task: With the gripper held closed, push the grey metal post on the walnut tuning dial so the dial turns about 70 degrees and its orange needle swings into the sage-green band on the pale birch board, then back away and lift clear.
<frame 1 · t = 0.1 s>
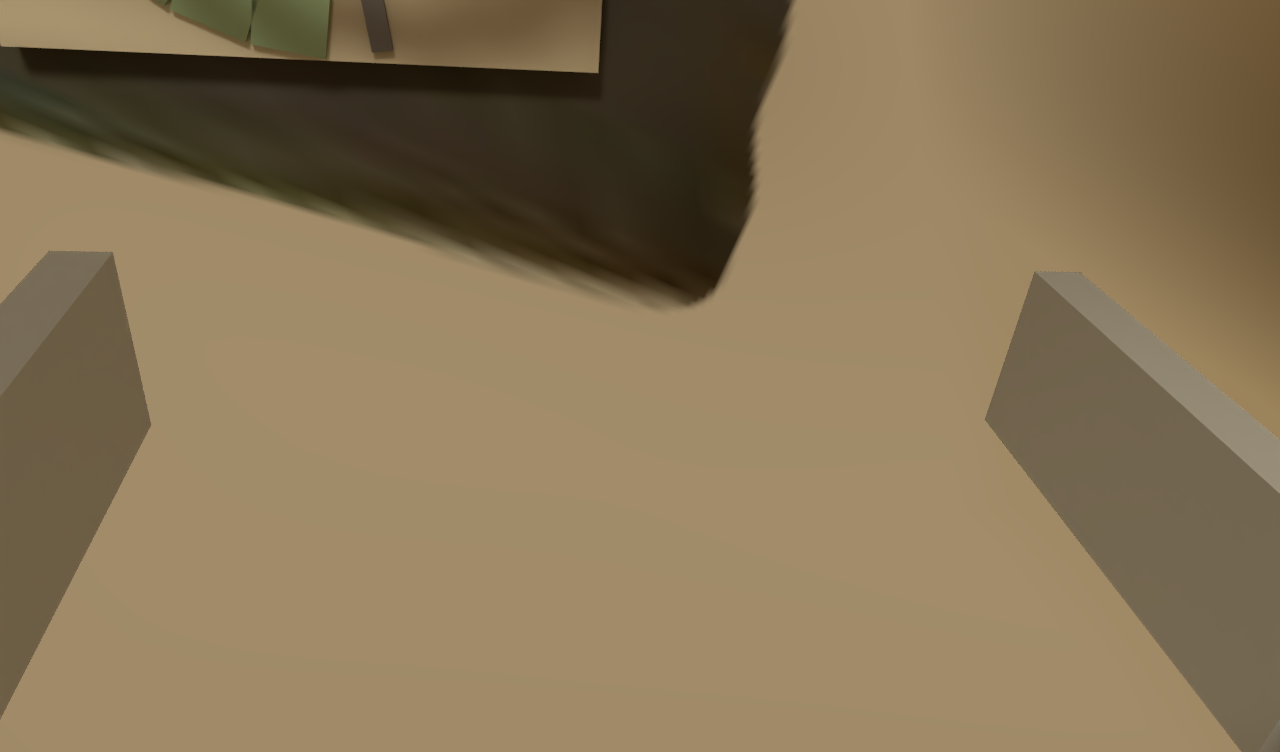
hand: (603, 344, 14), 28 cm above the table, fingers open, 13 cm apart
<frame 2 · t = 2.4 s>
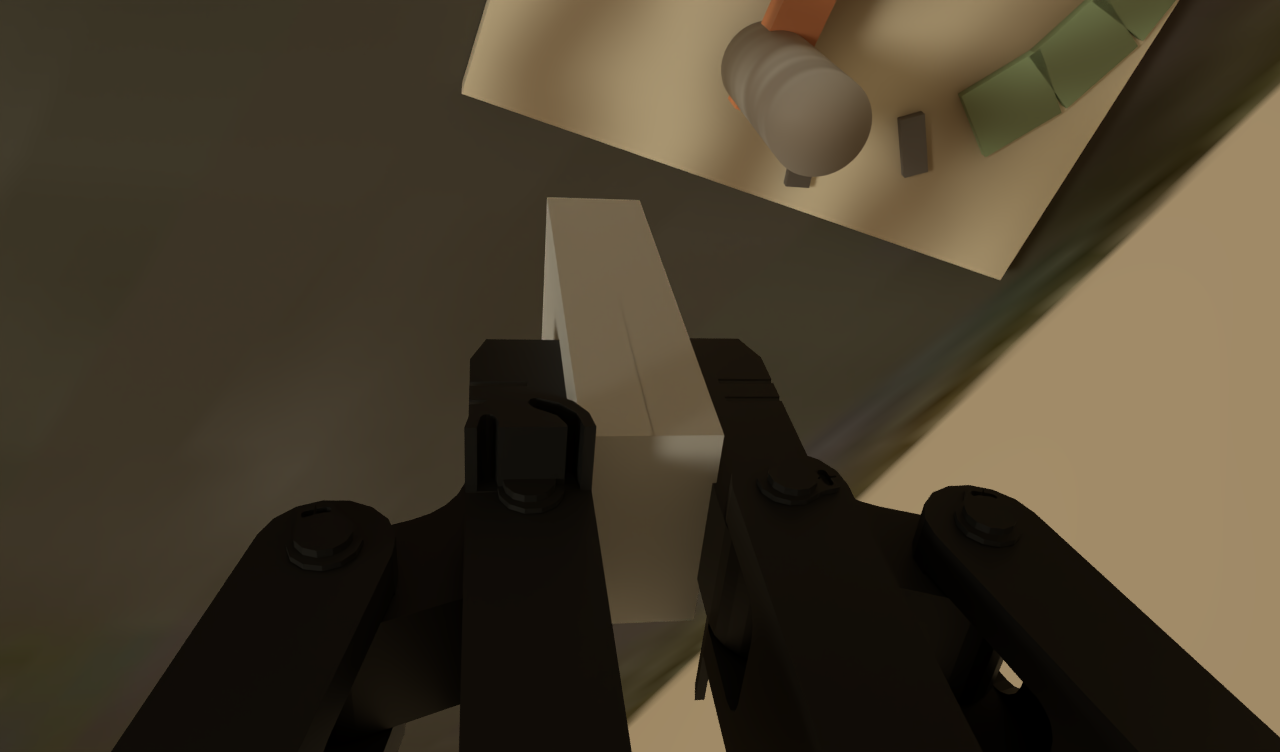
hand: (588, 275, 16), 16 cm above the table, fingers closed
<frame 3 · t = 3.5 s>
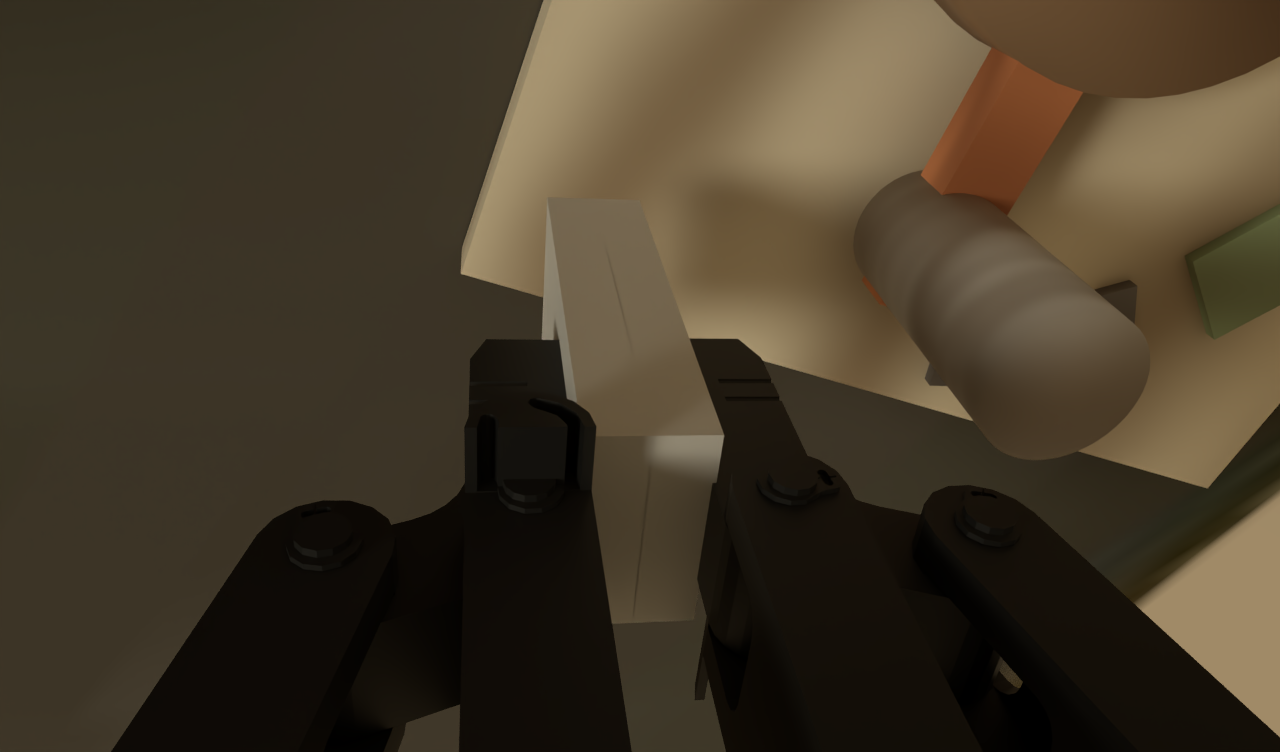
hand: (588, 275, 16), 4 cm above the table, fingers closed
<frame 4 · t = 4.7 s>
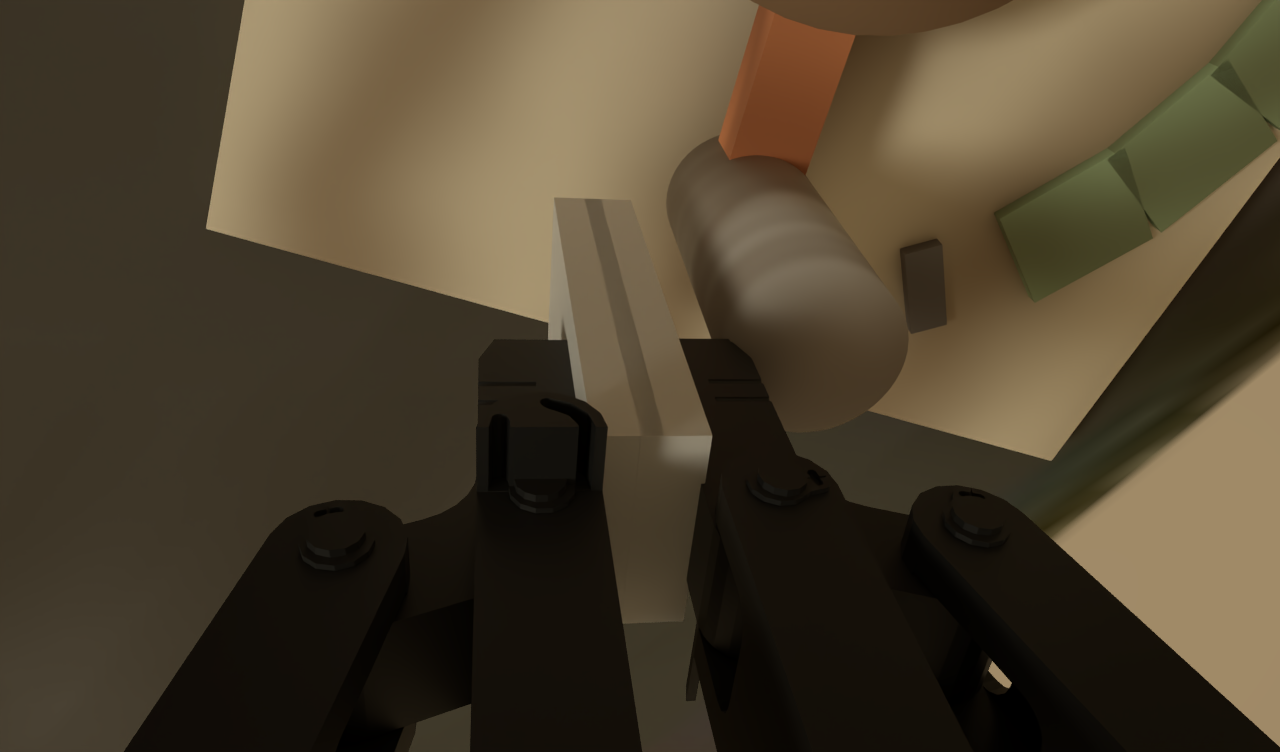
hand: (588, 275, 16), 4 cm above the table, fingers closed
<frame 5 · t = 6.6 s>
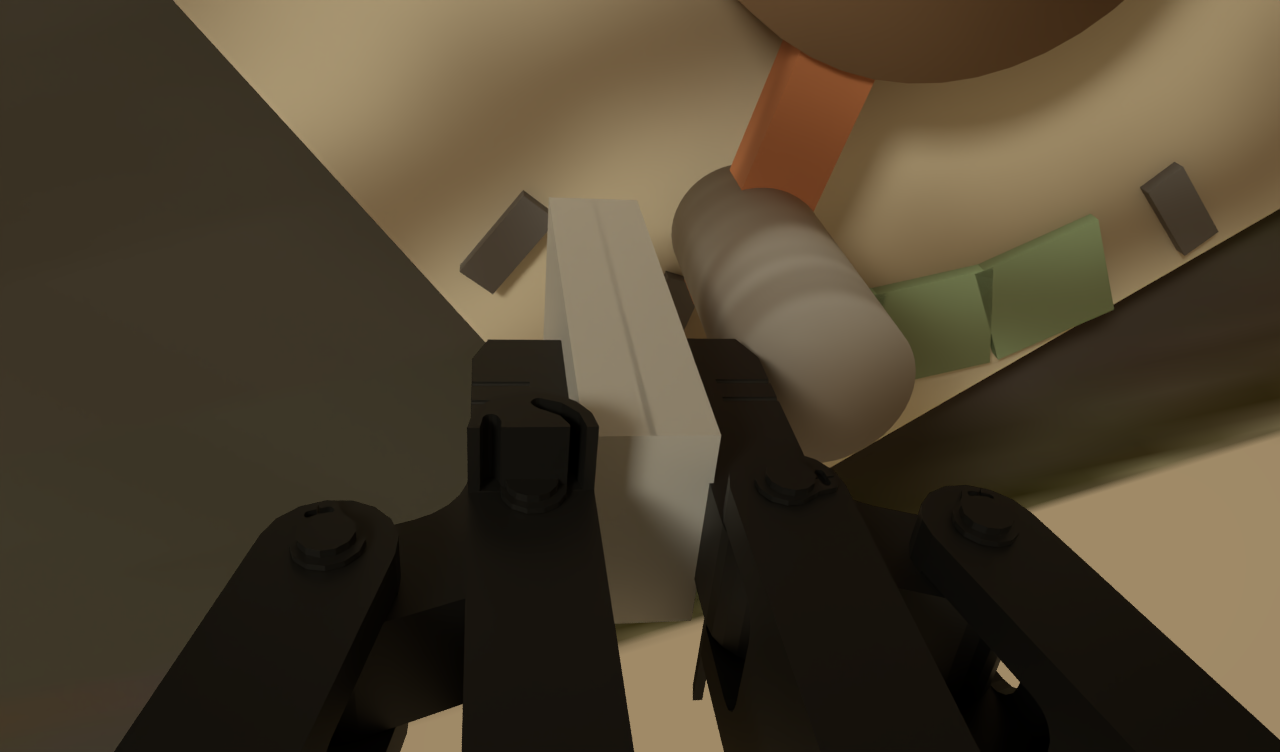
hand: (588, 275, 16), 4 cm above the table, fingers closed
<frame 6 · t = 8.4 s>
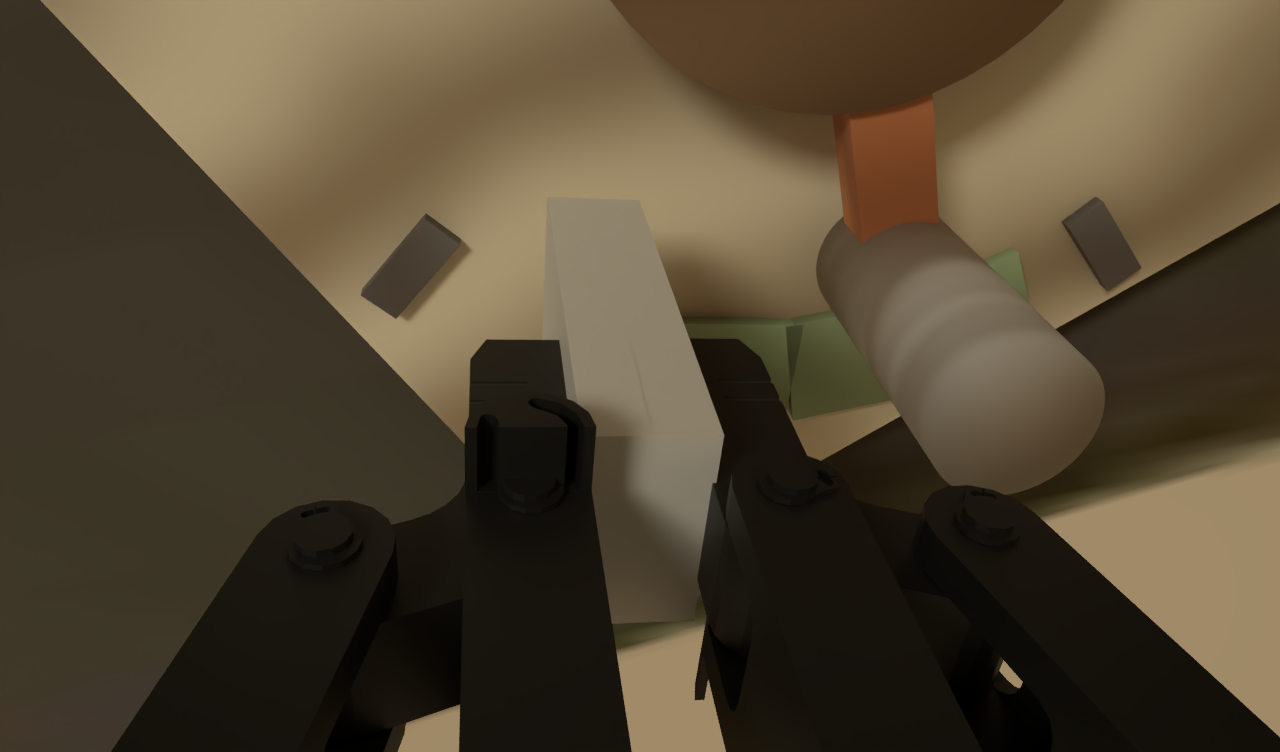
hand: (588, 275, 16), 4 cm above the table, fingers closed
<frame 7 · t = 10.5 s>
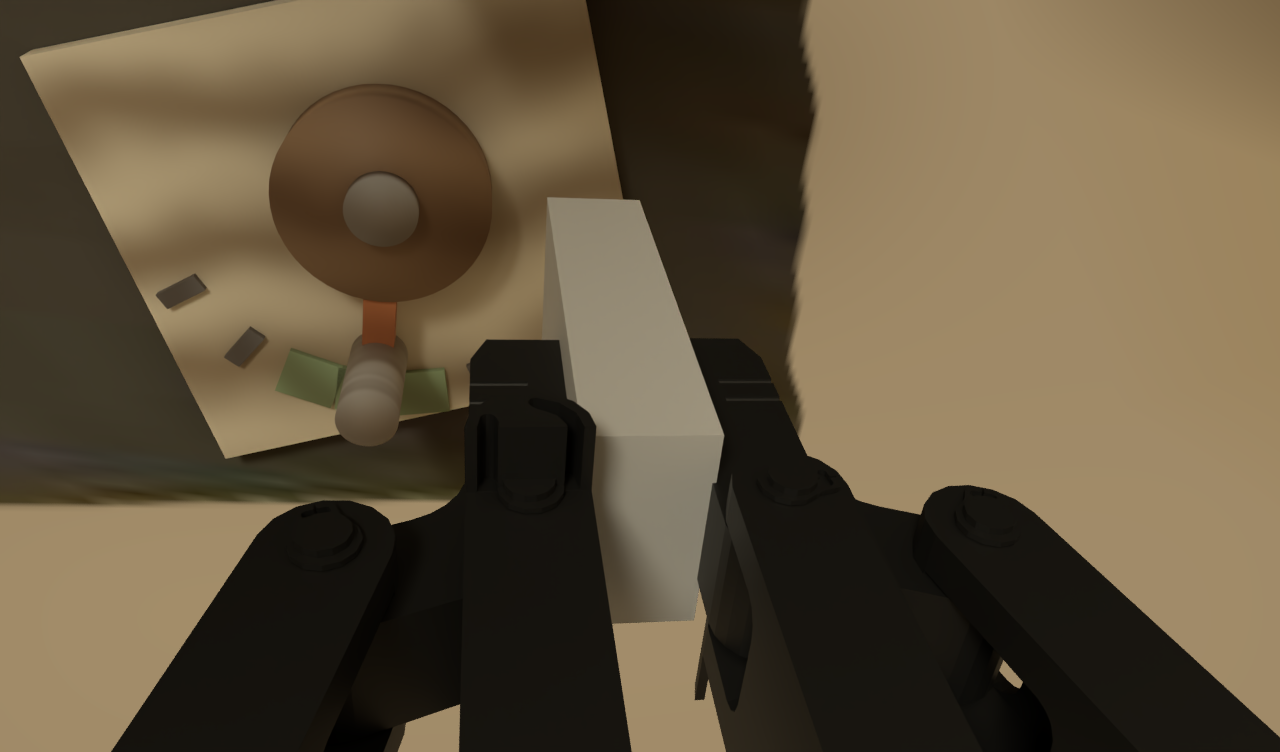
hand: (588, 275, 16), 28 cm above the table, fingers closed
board: (381, 221, 44), on the table
dial: (378, 269, 40), point 5 cm above the table, hinge at 70.6°
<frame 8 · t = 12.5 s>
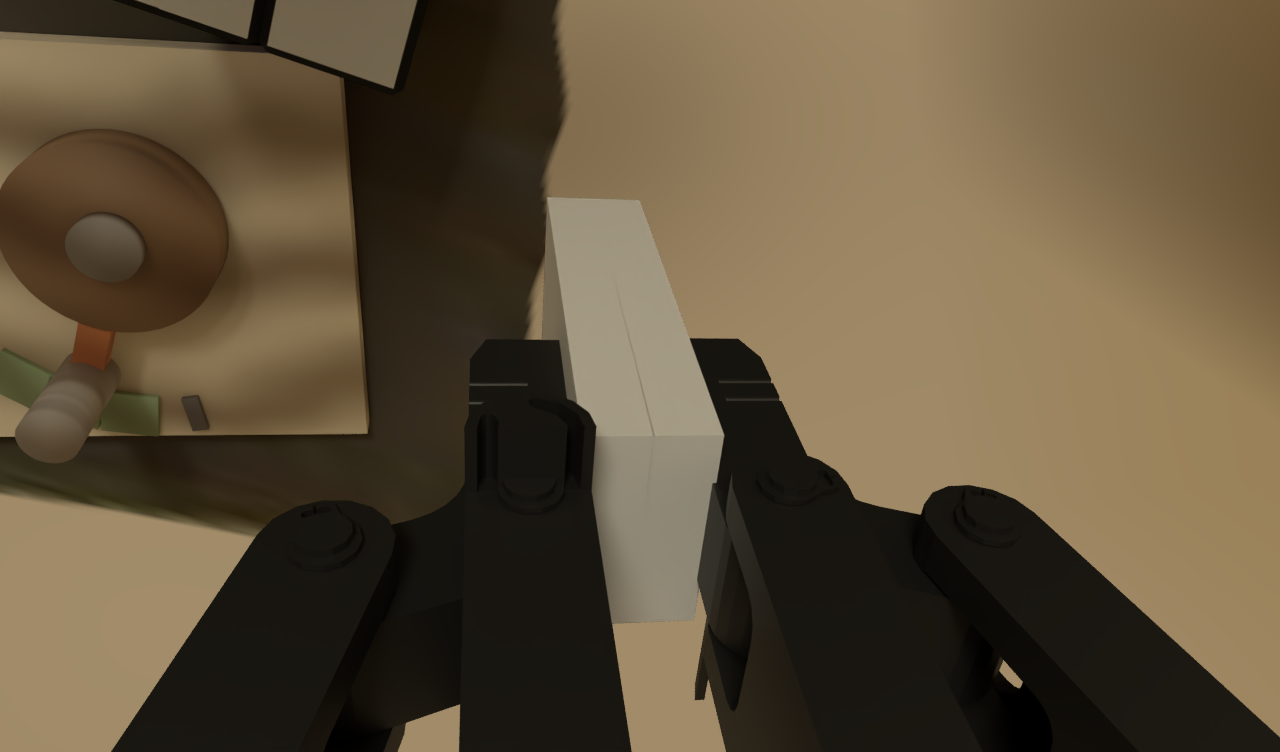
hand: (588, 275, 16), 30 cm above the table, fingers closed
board: (119, 251, 46), on the table
dial: (92, 300, 42), point 5 cm above the table, hinge at 70.6°
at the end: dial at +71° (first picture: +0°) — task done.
